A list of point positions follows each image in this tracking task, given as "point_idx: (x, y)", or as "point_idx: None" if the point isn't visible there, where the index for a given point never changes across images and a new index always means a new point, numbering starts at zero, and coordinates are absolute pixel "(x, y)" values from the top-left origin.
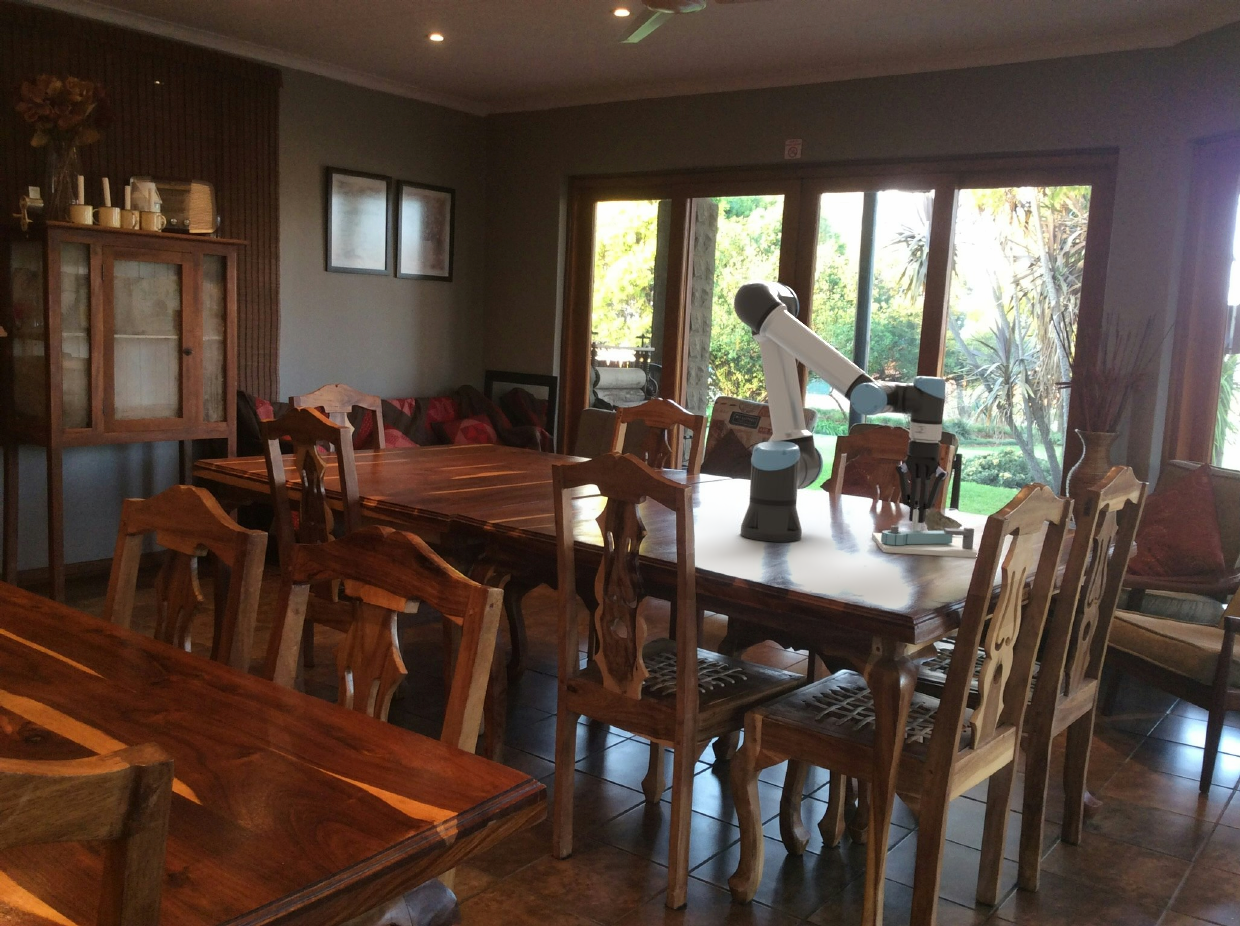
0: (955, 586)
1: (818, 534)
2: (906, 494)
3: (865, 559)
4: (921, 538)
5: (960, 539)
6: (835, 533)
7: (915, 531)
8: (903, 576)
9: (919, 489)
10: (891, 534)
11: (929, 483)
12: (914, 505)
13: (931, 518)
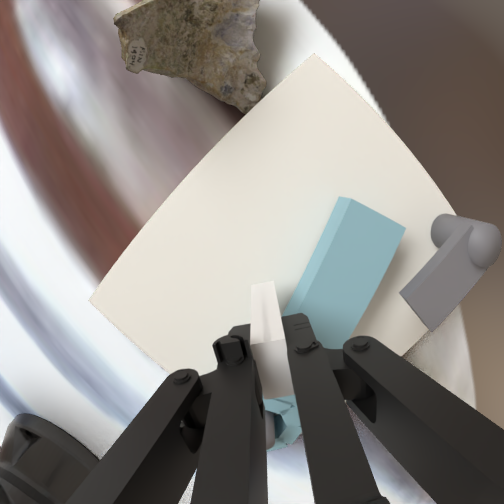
0: None
1: (42, 379)
2: (196, 464)
3: (300, 493)
4: None
5: (340, 86)
6: (35, 334)
7: None
8: (405, 498)
9: (251, 450)
10: (275, 448)
11: (377, 493)
12: (264, 409)
13: (170, 59)
